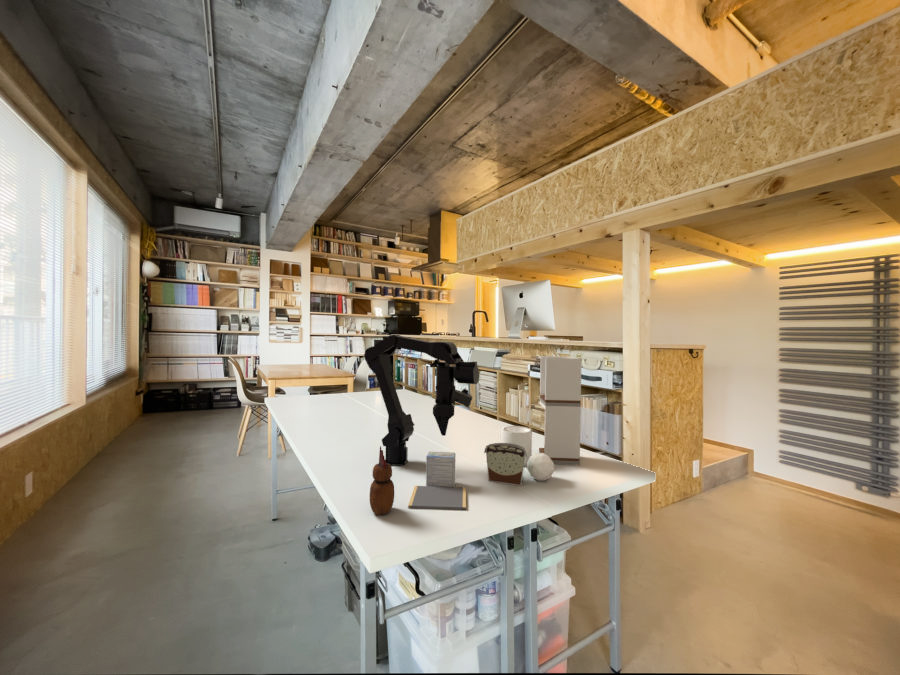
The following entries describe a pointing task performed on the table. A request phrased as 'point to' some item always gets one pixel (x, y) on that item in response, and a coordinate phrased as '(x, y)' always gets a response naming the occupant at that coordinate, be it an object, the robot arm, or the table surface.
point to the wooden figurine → (382, 487)
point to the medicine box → (440, 469)
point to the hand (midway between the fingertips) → (444, 432)
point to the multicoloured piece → (505, 463)
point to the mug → (518, 438)
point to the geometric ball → (540, 466)
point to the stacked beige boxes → (561, 408)
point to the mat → (438, 498)
